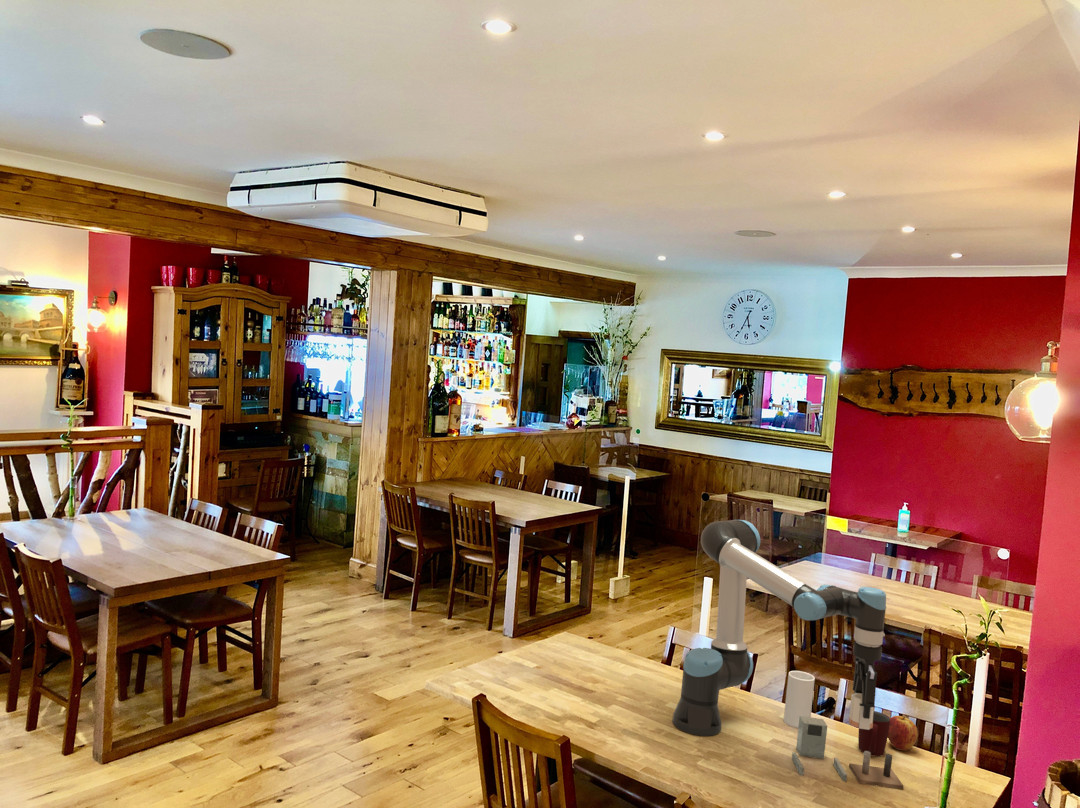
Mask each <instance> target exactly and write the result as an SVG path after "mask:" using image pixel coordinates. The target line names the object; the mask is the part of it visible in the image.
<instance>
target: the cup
mask: <svg viewBox="0 0 1080 808" xmlns="http://www.w3.org/2000/svg"><path fill="white" fill-rule="evenodd" d="M815 681H816V678H815V676H814V675H813V674H811V673H808V672H805V671H802V670H791V671H789V672H788V676H787V685H786V693H785V694H786V695H785V704H784V714H783V722H784V723H785V724H786V725H788V726H789V727H792V728H795V729H798V727H799V718H800V716H803V717H811V716H812V710H813V709H812V707H813V706H812V705H813V699H814V689H815ZM811 718H812V717H811Z"/></svg>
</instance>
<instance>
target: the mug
mask: <svg viewBox="0 0 1080 808" xmlns="http://www.w3.org/2000/svg"><path fill="white" fill-rule="evenodd" d="M890 718H891V717H890V716H889V715H887V714H885V713H882V712H880V711H876V710H874V712H873V728H871V729H869V730H867V729H859V728H858V747H857V748H858V750H859V751H860V752H862V753H863V754H864V751H869V752H870V753H871V756H872V757H883V756H885V751H886V746H887V742H888V732H889V727H890Z"/></svg>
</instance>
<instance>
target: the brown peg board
mask: <svg viewBox="0 0 1080 808" xmlns="http://www.w3.org/2000/svg"><path fill="white" fill-rule="evenodd" d="M871 756H872V755H871V753H870V752H869V751H864V753H863V758H862V764H857V763H849V764H848V765H849V766H848V767H849V769H850V770H851V773H852V774H853V775H854V777H855V779H856V780H857V782H858V783H859V784H863V785H868V786H876V785H877V786H878V787H883V786H885V787H884V788H890V787H893V788H892V789H897V788H903V789H904V788H905V787H904V786H905V785H903V783H902V782H901V780H900V778H899V777H898V776H897V775H896V773H895V772H894V770H893V769H892V764H893V763H892V761H893V755H892V754H890V753H885V754H884V756H885V757H884V764H883V767H880V766H871V765H870V763H871V762H870V761H871Z"/></svg>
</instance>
